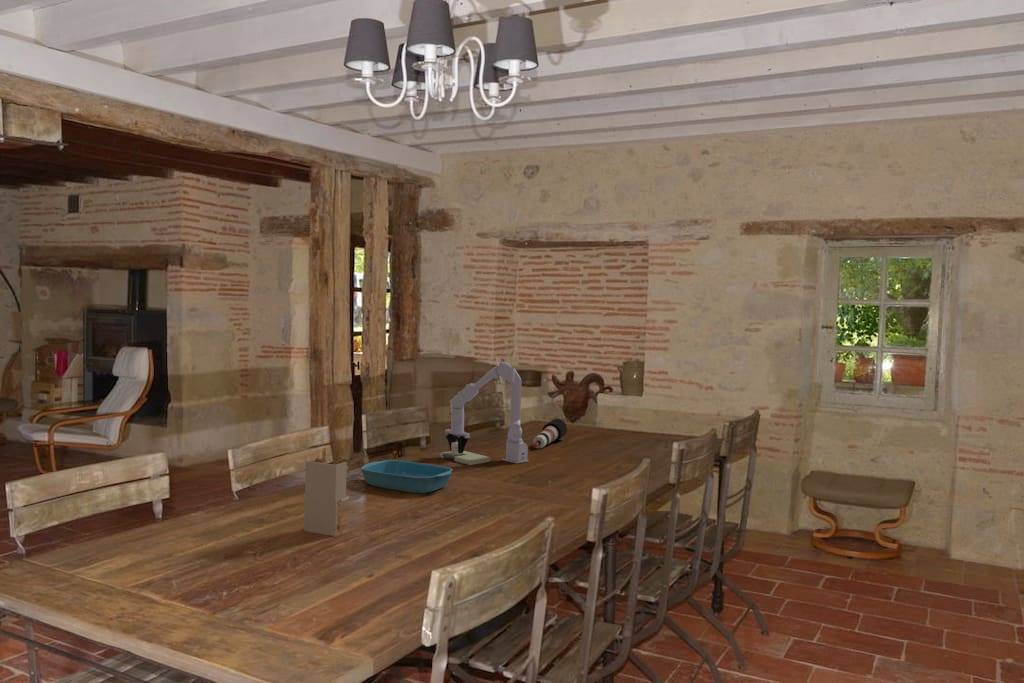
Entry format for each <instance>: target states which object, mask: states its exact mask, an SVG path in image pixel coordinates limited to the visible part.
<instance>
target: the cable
mask: <svg viewBox="0 0 1024 683" xmlns="http://www.w3.org/2000/svg"><path fill="white" fill-rule="evenodd" d="M567 426H568V425H567V424H566V422H565V421H564V420H562V419H561V418H553V419H551V420H550V421H549V422H547V423H546V424H544V426H543V427H542V429H541V431H540V432H539V433H538V434H537V435H536V436H535V437H534V438H533V440H532V447H533V448H534V449H535V448H536V449H542V448H544V447H546V446H547V445H549V444H551V443H557V442H558V441H559V440H560V439H562V438H563V437H565V436H566V434H567V432H568V427H567Z"/></svg>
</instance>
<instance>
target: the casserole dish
mask: <svg viewBox="0 0 1024 683" xmlns="http://www.w3.org/2000/svg"><path fill="white" fill-rule="evenodd" d="M361 472H362V475H363V477H364V481H365V482H366V483H367V484H369V485H370V486H373V487H378V488H383V489H387V490H388V489H389V490H394V491H398V492H399V491H400V492H401V491H402V492H407V493H412V494H413V493H415V494H427V493H428V494H429V493H431V492H435V491H437V490H440V489H442V488H444V487H445V486H446V485H447V484H448V483H449V480H450V479H451V475H452V473H453V468H451V467H448V466H444V465H437V464H429V463H424V462H423V463H422V462H416V461H407V460H400V459H388V460H387V459H386V460H382V461H381V460H380V461H371V462H368V463H365V464H364V465H363V466H362V467H361Z"/></svg>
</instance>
